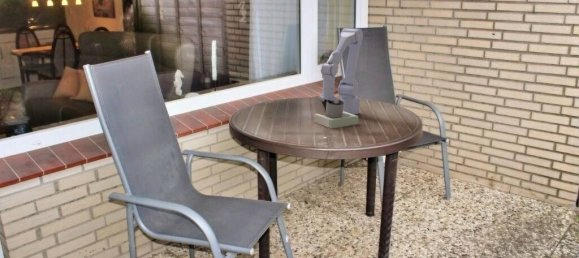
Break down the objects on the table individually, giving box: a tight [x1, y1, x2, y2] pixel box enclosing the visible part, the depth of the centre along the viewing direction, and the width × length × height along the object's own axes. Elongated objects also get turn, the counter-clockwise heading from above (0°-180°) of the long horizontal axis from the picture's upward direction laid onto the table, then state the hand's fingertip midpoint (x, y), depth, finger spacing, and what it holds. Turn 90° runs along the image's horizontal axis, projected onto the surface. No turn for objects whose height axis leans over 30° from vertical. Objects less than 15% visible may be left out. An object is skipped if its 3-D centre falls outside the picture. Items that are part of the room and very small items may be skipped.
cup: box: [324, 99, 344, 119], centre depth 236 cm, size 8×8×10 cm
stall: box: [314, 111, 359, 130], centre depth 236 cm, size 16×14×4 cm
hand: (327, 115), depth 241 cm, fingers closed, pressing on cup
